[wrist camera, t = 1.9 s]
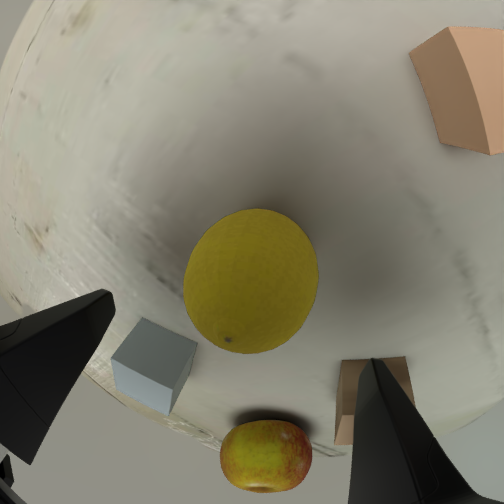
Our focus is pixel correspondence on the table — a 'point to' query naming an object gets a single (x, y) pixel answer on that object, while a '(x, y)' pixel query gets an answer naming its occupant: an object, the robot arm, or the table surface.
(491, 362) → the table surface
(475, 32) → the terracotta block
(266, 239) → the lemon
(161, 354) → the slate block
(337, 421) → the walnut block
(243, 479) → the fruit
